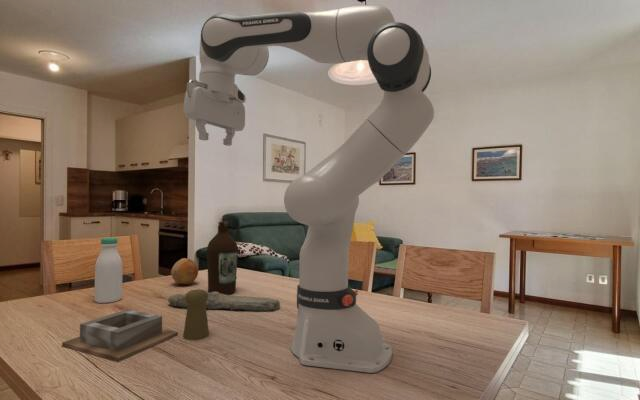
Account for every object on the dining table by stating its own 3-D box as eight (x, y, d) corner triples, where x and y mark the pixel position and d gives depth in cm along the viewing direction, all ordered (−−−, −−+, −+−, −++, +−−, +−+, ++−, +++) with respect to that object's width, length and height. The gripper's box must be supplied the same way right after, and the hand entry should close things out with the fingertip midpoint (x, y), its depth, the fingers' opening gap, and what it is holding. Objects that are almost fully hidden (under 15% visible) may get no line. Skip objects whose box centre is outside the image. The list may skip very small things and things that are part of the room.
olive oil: (200, 292, 130) (201, 221, 130) (227, 287, 137) (228, 220, 137) (215, 298, 122) (216, 223, 122) (243, 292, 129) (244, 222, 129)
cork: (201, 341, 86) (201, 294, 86) (177, 338, 87) (178, 292, 87) (213, 331, 92) (214, 288, 92) (191, 329, 93) (192, 286, 93)
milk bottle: (127, 299, 119) (127, 238, 119) (102, 305, 112) (103, 240, 112) (114, 295, 123) (114, 236, 123) (89, 300, 117) (90, 238, 116)
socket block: (177, 335, 89) (177, 315, 89) (118, 361, 75) (118, 338, 74) (125, 323, 96) (125, 305, 96) (62, 346, 82) (62, 324, 82)
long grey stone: (275, 319, 106) (281, 311, 116) (276, 301, 107) (283, 294, 117) (160, 308, 110) (176, 300, 119) (162, 290, 110) (177, 284, 120)
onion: (165, 286, 136) (165, 260, 136) (180, 281, 146) (180, 256, 146) (189, 288, 134) (190, 261, 134) (202, 282, 144) (203, 257, 144)
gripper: (198, 75, 84) (197, 135, 84) (249, 98, 102) (248, 147, 103) (177, 78, 86) (176, 137, 86) (230, 100, 105) (230, 148, 105)
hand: (216, 142), depth 95 cm, fingers open, 8 cm apart
